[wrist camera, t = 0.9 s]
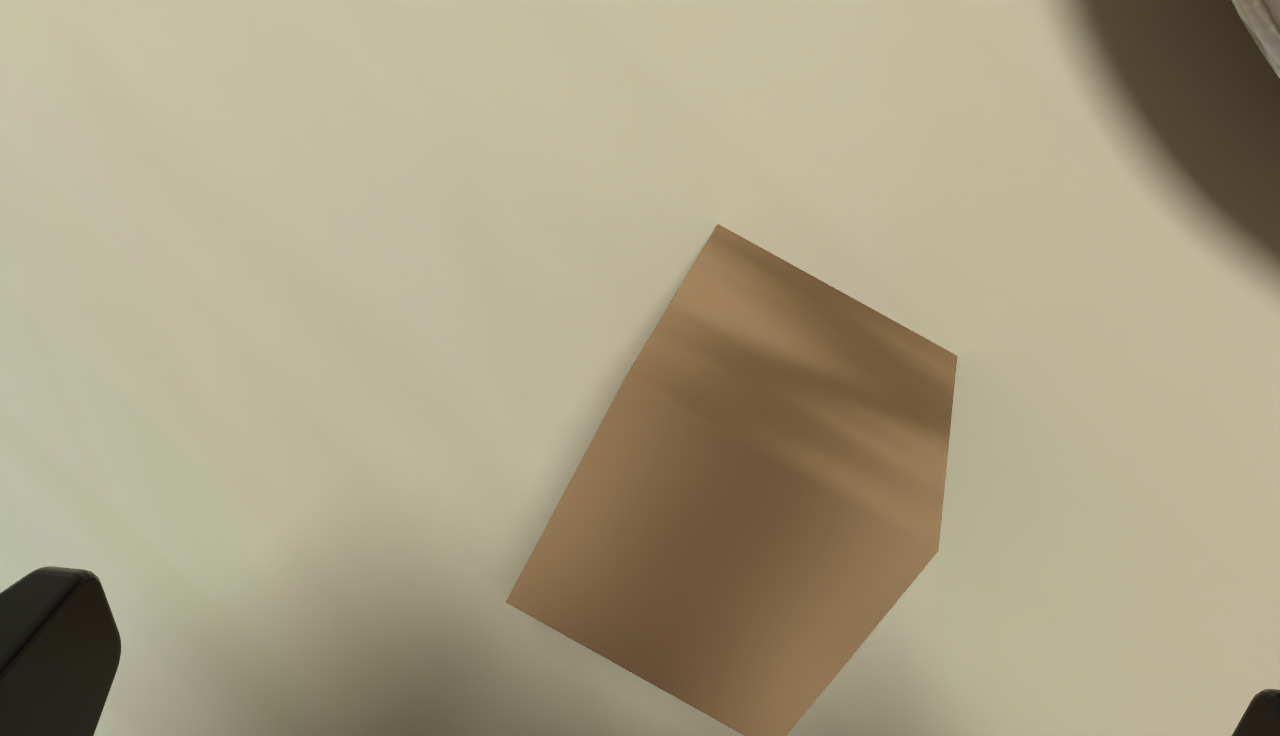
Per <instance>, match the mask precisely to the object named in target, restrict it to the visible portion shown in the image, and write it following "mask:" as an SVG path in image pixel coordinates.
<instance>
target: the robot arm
mask: <svg viewBox="0 0 1280 736" xmlns="http://www.w3.org/2000/svg"><path fill="white" fill-rule="evenodd" d="M120 655H121V640H120V635H119V631H118V629H117V626H116V623H115V620H114V618H113V615H112V612H111V609H110V607H109V604H108V601H107V598H106V596H105V593H104V590H103V587H102V585H101V582H100V580H99V578H98V577H97V576H96V575H95V574H93V573H92V572H91V571H87V570H81V569H71V568H61V567H43V568H39V569H37V570H35V571H33V572H31V573H29V574H28V575H26V576H25V577H23V578H22V579H20V580H19V581H17V582H16V583H14V584H13V585H12V586H10V587H9V588H7V589H6V590H4V591H3V592H1V593H0V736H93V735H94V733H95V730H96V727H97V724H98V721H99V719H100V716H101V713H102V710H103V707H104V705H105V702H106V699H107V696H108V694H109V691H110V688H111V685H112V682H113V680H114V677H115V674H116V671H117V668H118V665H119V660H120ZM1232 736H1280V690H1276V689H1265V690H1263V691H1261V692H1259V693H1258V694H1256V695H1255V696H1254V698H1253V699H1252V701H1251V702H1250V704H1249V706H1248V708H1247V710H1246V711H1245V713H1244V715H1243V717H1242V718H1241V720H1240V722H1239V724H1238V726H1237V727H1236V729H1235V731H1234V733H1233V734H1232Z"/></svg>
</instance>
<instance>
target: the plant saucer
mask: <svg viewBox="0 0 1280 736" xmlns="http://www.w3.org/2000/svg"><path fill="white" fill-rule="evenodd" d="M1231 1H1232V3H1233V5H1234V7H1235V9H1236V11H1237V13H1238V15H1239V17H1240V18H1241V20H1242V22H1243V23H1244V25H1245V27H1246V28H1247V30H1248V32H1249V33H1250V35H1251V37H1252V38H1253V40H1254V42H1255V43H1256V45H1257V46H1258V48H1259V49H1260V51H1261V52H1262V54H1263V55H1264V57H1265V58H1266V60H1267V62H1268V63H1269V65H1270V66H1271V68H1272V69H1273V70H1274V72H1275V73H1276V74H1277V76H1278V77H1279V78H1280V0H1231Z"/></svg>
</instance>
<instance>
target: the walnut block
mask: <svg viewBox="0 0 1280 736" xmlns="http://www.w3.org/2000/svg"><path fill="white" fill-rule="evenodd" d="M956 363H957V356H956V355H955V354H953V353H951V352H949V351H947V350H946V349H944V348H942V347H940V346H938V345H937V344H935V343H933V342H931V341H929V340H927V339H926V338H924V337H922V336H920V335H918V334H917V333H915V332H913V331H911V330H909V329H907V328H906V327H904V326H902V325H900V324H898V323H897V322H895V321H893V320H891V319H889V318H888V317H886V316H884V315H882V314H880V313H878V312H877V311H875V310H873V309H871V308H869V307H868V306H866V305H864V304H862V303H860V302H858V301H857V300H855V299H853V298H851V297H849V296H848V295H846V294H844V293H842V292H840V291H839V290H837V289H835V288H833V287H831V286H829V285H828V284H826V283H824V282H822V281H820V280H819V279H817V278H815V277H813V276H811V275H809V274H808V273H806V272H804V271H802V270H800V269H799V268H797V267H795V266H793V265H791V264H790V263H788V262H786V261H784V260H782V259H780V258H779V257H777V256H775V255H773V254H771V253H770V252H768V251H766V250H764V249H762V248H760V247H759V246H757V245H755V244H753V243H751V242H750V241H748V240H746V239H744V238H742V237H741V236H739V235H737V234H735V233H733V232H731V231H730V230H728V229H726V228H724V227H722V226H721V225H719V224H718V225H717V226H716V228H715V230H714V231H713V233H712V235H711V236H710V238H709V240H708V241H707V243H706V245H705V246H704V248H703V250H702V251H701V253H700V255H699V256H698V258H697V260H696V261H695V263H694V265H693V266H692V268H691V270H690V271H689V273H688V275H687V276H686V278H685V280H684V281H683V283H682V285H681V286H680V288H679V290H678V291H677V293H676V295H675V296H674V298H673V300H672V301H671V303H670V305H669V306H668V308H667V310H666V311H665V313H664V315H663V316H662V318H661V320H660V321H659V323H658V325H657V326H656V328H655V330H654V331H653V333H652V335H651V336H650V338H649V340H648V341H647V343H646V345H645V346H644V348H643V350H642V351H641V353H640V355H639V356H638V358H637V360H636V361H635V363H634V365H633V366H632V368H631V370H630V371H629V373H628V375H627V376H626V378H625V380H624V382H623V384H622V386H621V387H620V389H619V391H618V393H617V395H616V397H615V399H614V401H613V402H612V404H611V406H610V408H609V410H608V412H607V414H606V415H605V417H604V419H603V421H602V423H601V425H600V427H599V429H598V430H597V432H596V434H595V436H594V438H593V440H592V442H591V444H590V445H589V447H588V449H587V451H586V453H585V455H584V457H583V459H582V460H581V462H580V464H579V466H578V468H577V470H576V472H575V474H574V475H573V477H572V479H571V481H570V483H569V485H568V487H567V488H566V490H565V492H564V494H563V496H562V498H561V500H560V502H559V503H558V505H557V507H556V509H555V511H554V513H553V515H552V517H551V518H550V520H549V522H548V524H547V526H546V528H545V530H544V532H543V533H542V535H541V537H540V539H539V541H538V543H537V545H536V547H535V548H534V550H533V552H532V554H531V556H530V558H529V560H528V561H527V563H526V565H525V567H524V569H523V571H522V573H521V575H520V576H519V578H518V580H517V582H516V584H515V586H514V588H513V590H512V591H511V593H510V595H509V597H508V599H507V601H506V603H508V604H510V605H512V606H514V607H515V608H517V609H519V610H521V611H523V612H524V613H526V614H528V615H530V616H532V617H533V618H535V619H537V620H539V621H540V622H542V623H544V624H546V625H548V626H549V627H551V628H553V629H555V630H557V631H558V632H560V633H562V634H564V635H566V636H567V637H569V638H571V639H573V640H574V641H576V642H578V643H580V644H582V645H583V646H585V647H587V648H589V649H591V650H592V651H594V652H596V653H598V654H600V655H601V656H603V657H605V658H607V659H609V660H610V661H612V662H614V663H616V664H617V665H619V666H621V667H623V668H625V669H626V670H628V671H630V672H632V673H634V674H635V675H637V676H639V677H641V678H643V679H644V680H646V681H648V682H650V683H651V684H653V685H655V686H657V687H659V688H660V689H662V690H664V691H666V692H668V693H669V694H671V695H673V696H675V697H677V698H678V699H680V700H682V701H684V702H686V703H687V704H689V705H691V706H693V707H694V708H696V709H698V710H700V711H702V712H703V713H705V714H707V715H709V716H711V717H712V718H714V719H716V720H718V721H720V722H721V723H723V724H725V725H727V726H728V727H730V728H732V729H734V730H736V731H737V732H739V733H741V734H743V735H745V736H786V735H787V734H788V733H789V732H790V731H791V729H792V728H793V727H794V726H795V724H796V723H797V722H798V721H799V720H800V718H801V717H802V716H803V715H804V714H805V712H806V711H807V710H808V709H809V707H810V706H811V705H812V704H813V703H814V701H815V700H816V699H817V698H818V697H819V695H820V694H821V693H822V692H823V690H824V689H825V688H826V687H827V686H828V684H829V683H830V682H831V681H832V679H833V678H834V677H835V676H836V675H837V673H838V672H839V671H840V670H841V669H842V667H843V666H844V665H845V664H846V662H847V661H848V660H849V659H850V658H851V656H852V655H853V654H854V653H855V652H856V650H857V649H858V648H859V647H860V645H861V644H862V643H863V642H864V641H865V639H866V638H867V637H868V636H869V635H870V633H871V632H872V631H873V630H874V628H875V627H876V626H877V625H878V624H879V622H880V621H881V620H882V619H883V617H884V616H885V615H886V614H887V613H888V611H889V610H890V609H891V608H892V607H893V605H894V604H895V603H896V602H897V600H898V599H899V598H900V597H901V596H902V594H903V593H904V592H905V591H906V590H907V588H908V587H909V586H910V585H911V583H912V582H913V581H914V580H915V579H916V577H917V576H918V575H919V574H920V573H921V571H922V570H923V569H924V568H925V566H926V565H927V564H928V563H929V562H930V560H931V559H932V558H933V557H934V556H935V554H936V553H937V552H938V549H939V538H940V528H941V518H942V507H943V497H944V487H945V476H946V466H947V456H948V445H949V435H950V425H951V414H952V404H953V394H954V384H955V373H956Z"/></svg>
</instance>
